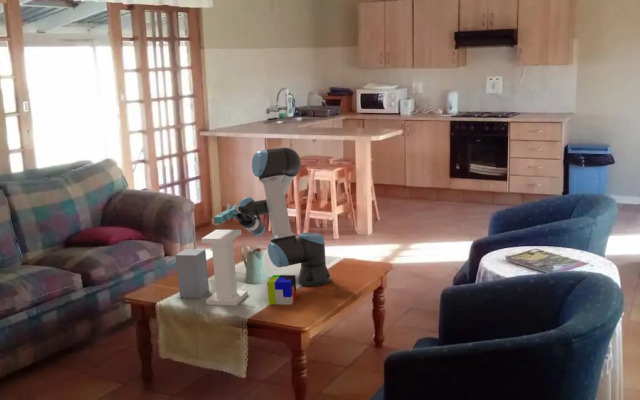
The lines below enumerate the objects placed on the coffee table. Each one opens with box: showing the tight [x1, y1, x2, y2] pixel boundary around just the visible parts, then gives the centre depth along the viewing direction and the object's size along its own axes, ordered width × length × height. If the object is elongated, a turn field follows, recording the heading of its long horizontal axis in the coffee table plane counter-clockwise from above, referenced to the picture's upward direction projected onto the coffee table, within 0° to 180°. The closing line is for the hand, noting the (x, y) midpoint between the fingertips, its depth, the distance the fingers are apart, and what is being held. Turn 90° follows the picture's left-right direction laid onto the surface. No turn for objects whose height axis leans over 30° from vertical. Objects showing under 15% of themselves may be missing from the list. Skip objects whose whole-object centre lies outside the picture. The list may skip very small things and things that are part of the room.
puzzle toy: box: [266, 274, 297, 305], centre depth 303 cm, size 10×10×10 cm
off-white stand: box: [201, 229, 249, 306], centre depth 306 cm, size 16×14×30 cm
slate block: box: [175, 248, 210, 299], centre depth 317 cm, size 10×10×20 cm
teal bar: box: [213, 204, 242, 225], centre depth 312 cm, size 26×3×3 cm, turn 166°
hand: (231, 206), depth 315 cm, fingers closed on teal bar, 3 cm apart
